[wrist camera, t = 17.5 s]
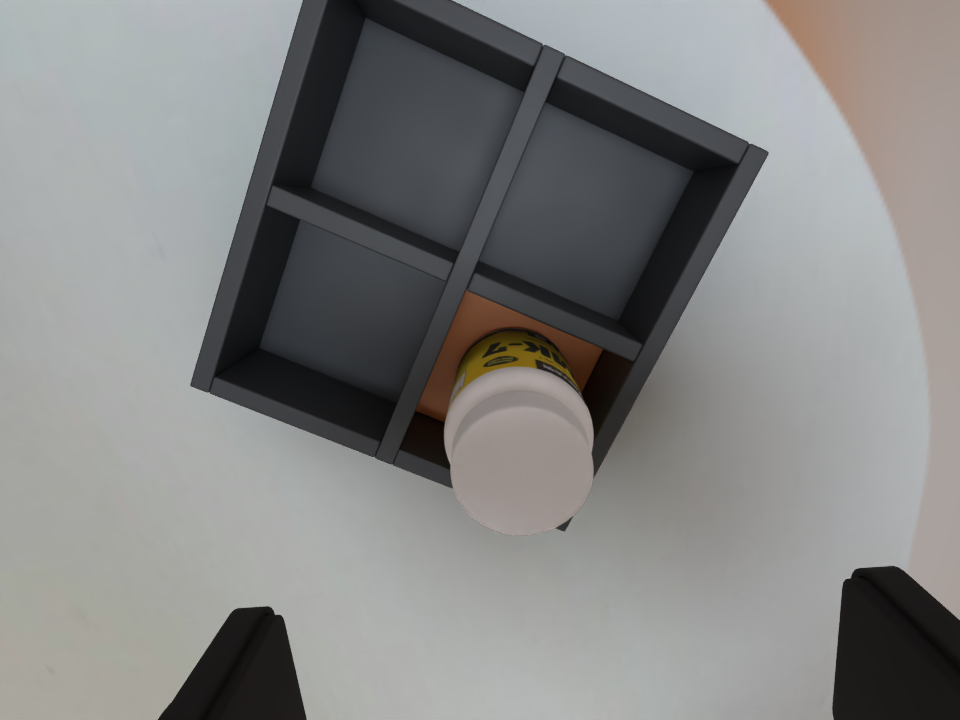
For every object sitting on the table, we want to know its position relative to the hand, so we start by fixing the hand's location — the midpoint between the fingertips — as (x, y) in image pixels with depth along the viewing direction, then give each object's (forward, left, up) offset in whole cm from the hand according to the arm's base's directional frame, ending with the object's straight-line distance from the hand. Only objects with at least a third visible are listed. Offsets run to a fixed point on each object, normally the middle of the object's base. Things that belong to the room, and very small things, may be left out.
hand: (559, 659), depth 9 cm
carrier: (+2, -5, -15) cm, 16 cm away
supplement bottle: (0, 0, -15) cm, 15 cm away
